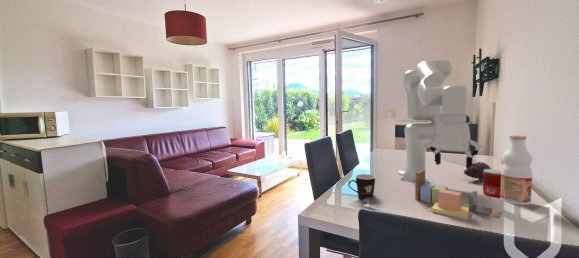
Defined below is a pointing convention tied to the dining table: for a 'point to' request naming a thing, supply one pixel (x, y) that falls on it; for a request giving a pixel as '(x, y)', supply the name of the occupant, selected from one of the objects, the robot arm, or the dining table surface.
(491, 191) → the canned food
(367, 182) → the coffee mug
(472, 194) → the bookend
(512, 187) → the fruit juice
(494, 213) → the shelf
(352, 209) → the dining table surface
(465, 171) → the pine cone
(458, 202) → the terracotta book
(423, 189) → the blue book
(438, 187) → the olive book
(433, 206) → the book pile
